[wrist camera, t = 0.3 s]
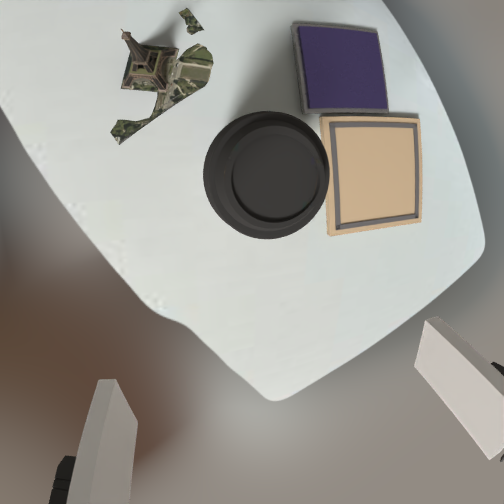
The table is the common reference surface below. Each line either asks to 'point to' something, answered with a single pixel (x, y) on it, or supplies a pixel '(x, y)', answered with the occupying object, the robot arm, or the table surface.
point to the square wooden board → (372, 172)
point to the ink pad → (339, 69)
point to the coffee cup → (266, 174)
